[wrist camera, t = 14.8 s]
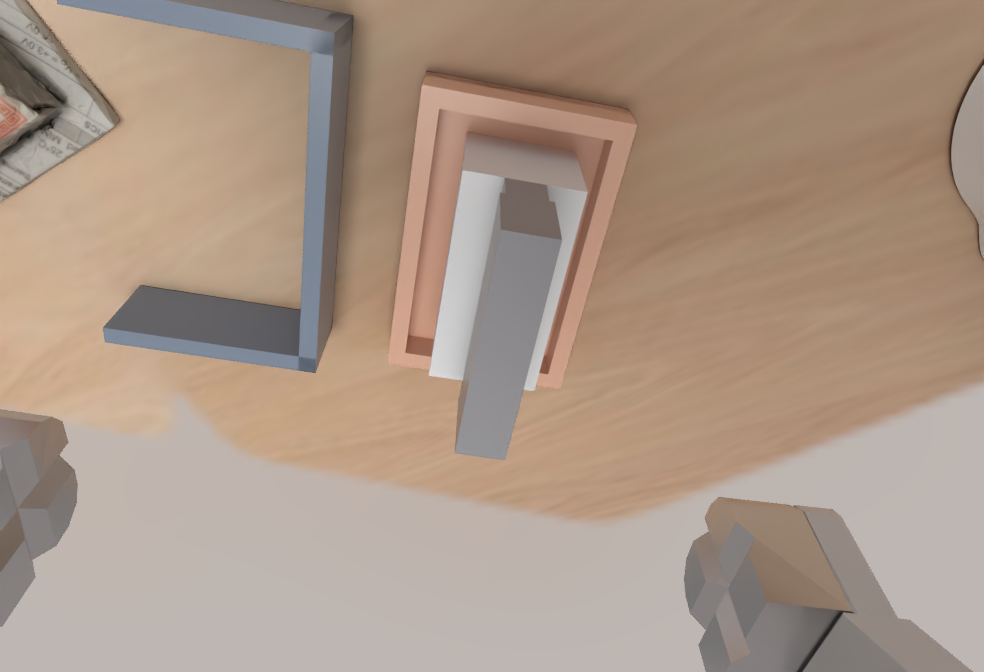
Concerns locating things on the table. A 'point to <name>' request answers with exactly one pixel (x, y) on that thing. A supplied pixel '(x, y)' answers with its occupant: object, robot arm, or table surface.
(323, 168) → the slate bay
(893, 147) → the table surface
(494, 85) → the terracotta tray
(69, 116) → the packaged product
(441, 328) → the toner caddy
